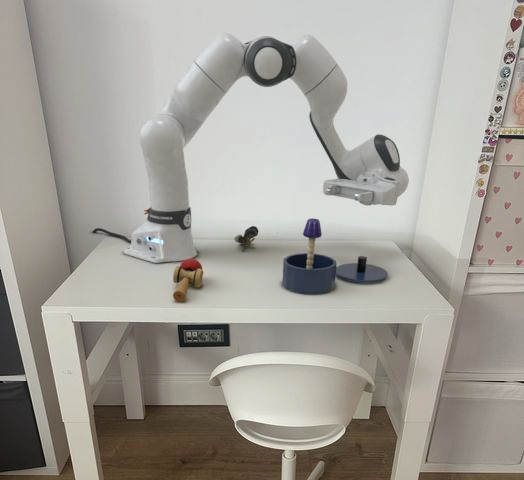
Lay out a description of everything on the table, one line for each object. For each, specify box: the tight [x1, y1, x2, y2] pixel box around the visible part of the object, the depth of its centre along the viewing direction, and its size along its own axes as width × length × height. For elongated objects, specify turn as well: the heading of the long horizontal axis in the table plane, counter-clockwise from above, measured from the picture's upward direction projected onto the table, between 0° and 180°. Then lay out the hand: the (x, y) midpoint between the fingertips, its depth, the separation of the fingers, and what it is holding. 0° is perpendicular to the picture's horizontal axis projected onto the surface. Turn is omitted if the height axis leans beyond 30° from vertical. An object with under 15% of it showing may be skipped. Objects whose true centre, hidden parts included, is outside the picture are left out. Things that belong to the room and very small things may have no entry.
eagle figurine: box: [234, 225, 260, 252], centre depth 159 cm, size 8×7×9 cm
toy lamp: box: [302, 218, 323, 269], centre depth 128 cm, size 5×5×17 cm
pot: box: [282, 252, 338, 295], centre depth 130 cm, size 14×14×6 cm
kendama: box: [172, 258, 204, 303], centre depth 126 cm, size 8×6×18 cm
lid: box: [336, 255, 389, 284], centre depth 138 cm, size 15×15×5 cm
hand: (341, 194), depth 129 cm, fingers open, 8 cm apart
